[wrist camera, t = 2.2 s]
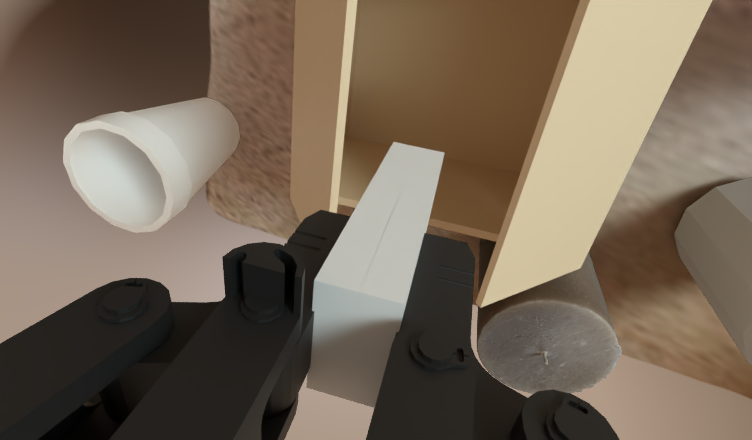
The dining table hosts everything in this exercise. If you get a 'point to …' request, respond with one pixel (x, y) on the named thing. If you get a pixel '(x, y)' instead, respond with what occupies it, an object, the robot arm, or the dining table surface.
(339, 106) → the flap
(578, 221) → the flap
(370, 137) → the carton
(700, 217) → the jar
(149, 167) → the foam cup
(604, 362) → the pillar candle
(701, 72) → the dining table surface
